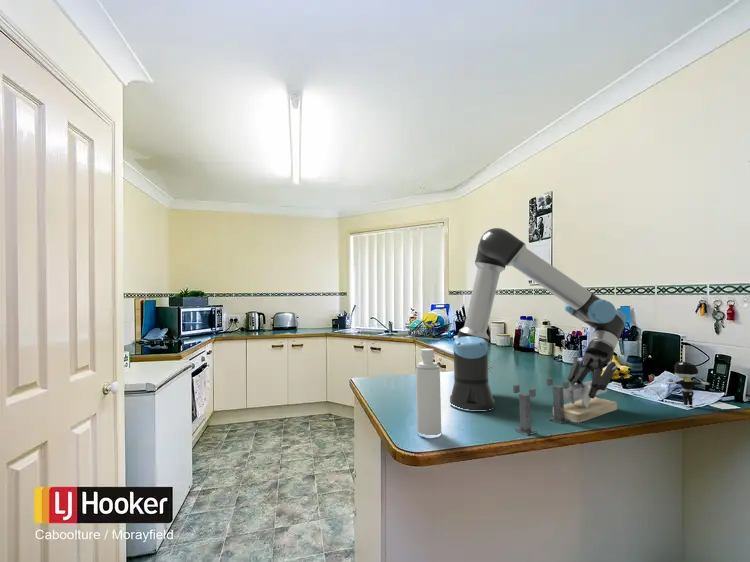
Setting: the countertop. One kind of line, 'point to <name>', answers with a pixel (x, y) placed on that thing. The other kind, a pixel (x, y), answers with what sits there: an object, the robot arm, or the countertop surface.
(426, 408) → the grey bottle
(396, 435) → the countertop surface
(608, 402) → the board
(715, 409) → the countertop surface
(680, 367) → the toy
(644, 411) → the countertop surface
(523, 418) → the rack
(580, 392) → the rail
